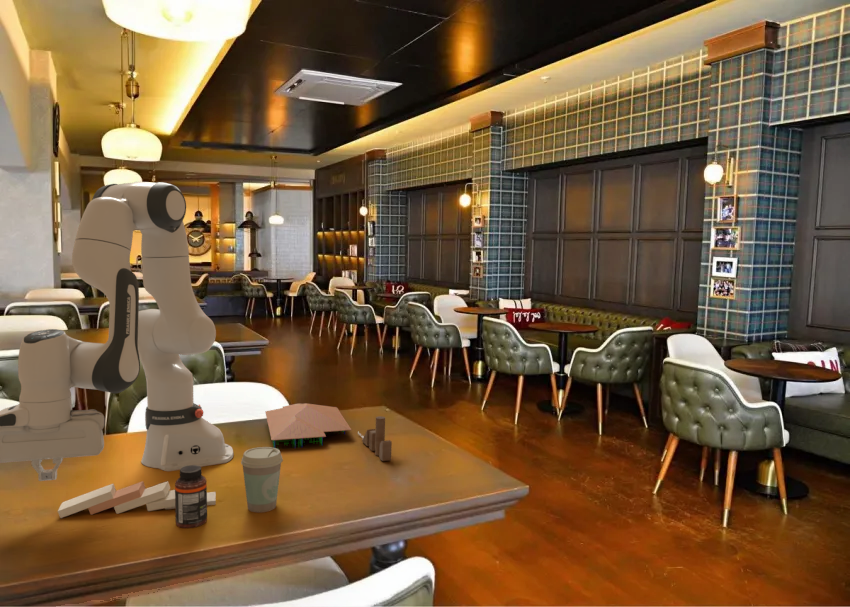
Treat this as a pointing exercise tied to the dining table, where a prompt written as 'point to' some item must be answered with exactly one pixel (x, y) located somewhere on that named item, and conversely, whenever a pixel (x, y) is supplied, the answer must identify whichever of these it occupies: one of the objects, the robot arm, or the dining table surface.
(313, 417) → the house
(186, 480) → the supplement bottle
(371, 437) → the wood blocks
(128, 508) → the domino
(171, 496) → the domino
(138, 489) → the domino
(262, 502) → the coffee cup
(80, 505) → the domino end
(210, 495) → the domino
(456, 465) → the dining table surface
